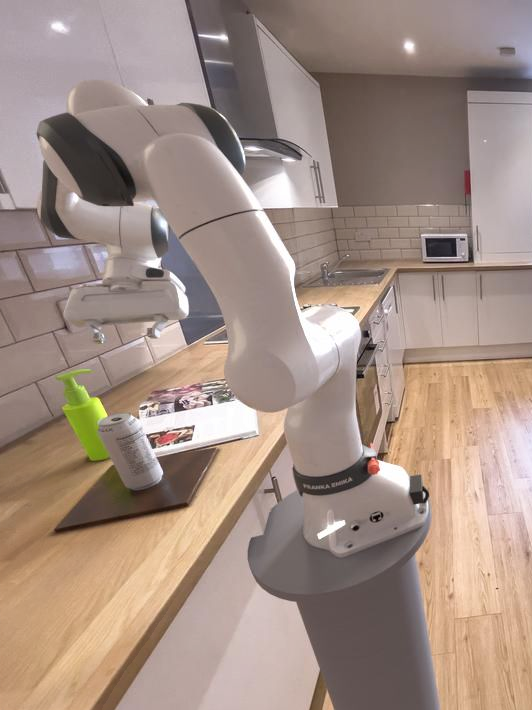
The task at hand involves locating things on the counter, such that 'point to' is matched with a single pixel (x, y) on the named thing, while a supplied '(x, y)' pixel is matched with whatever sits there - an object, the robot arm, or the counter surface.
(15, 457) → the counter surface
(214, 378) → the counter surface
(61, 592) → the counter surface
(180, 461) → the coaster board
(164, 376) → the counter surface
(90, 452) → the soap dispenser
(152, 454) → the energy drink can
